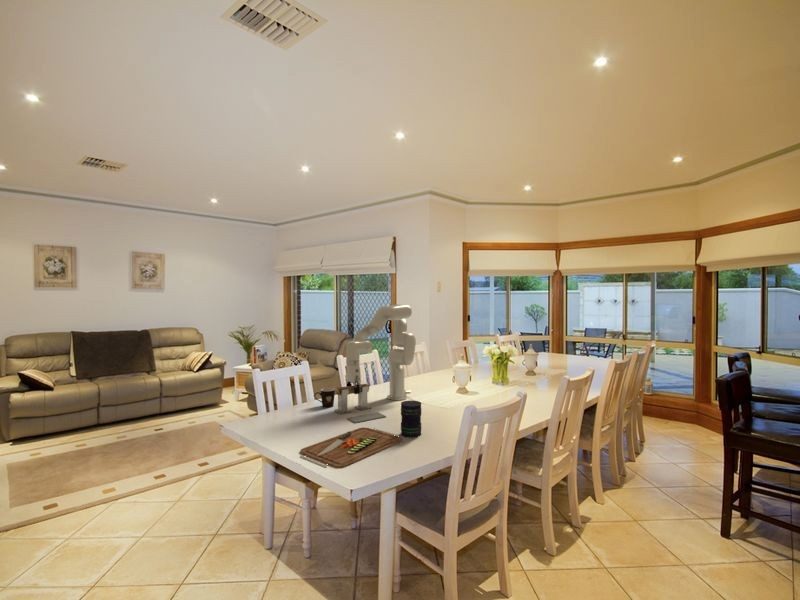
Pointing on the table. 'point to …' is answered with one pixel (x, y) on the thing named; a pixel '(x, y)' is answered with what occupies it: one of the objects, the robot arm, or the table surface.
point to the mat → (366, 417)
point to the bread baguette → (351, 389)
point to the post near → (343, 402)
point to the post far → (363, 399)
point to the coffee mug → (327, 397)
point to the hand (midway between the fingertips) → (352, 392)
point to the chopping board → (350, 447)
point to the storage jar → (411, 419)
